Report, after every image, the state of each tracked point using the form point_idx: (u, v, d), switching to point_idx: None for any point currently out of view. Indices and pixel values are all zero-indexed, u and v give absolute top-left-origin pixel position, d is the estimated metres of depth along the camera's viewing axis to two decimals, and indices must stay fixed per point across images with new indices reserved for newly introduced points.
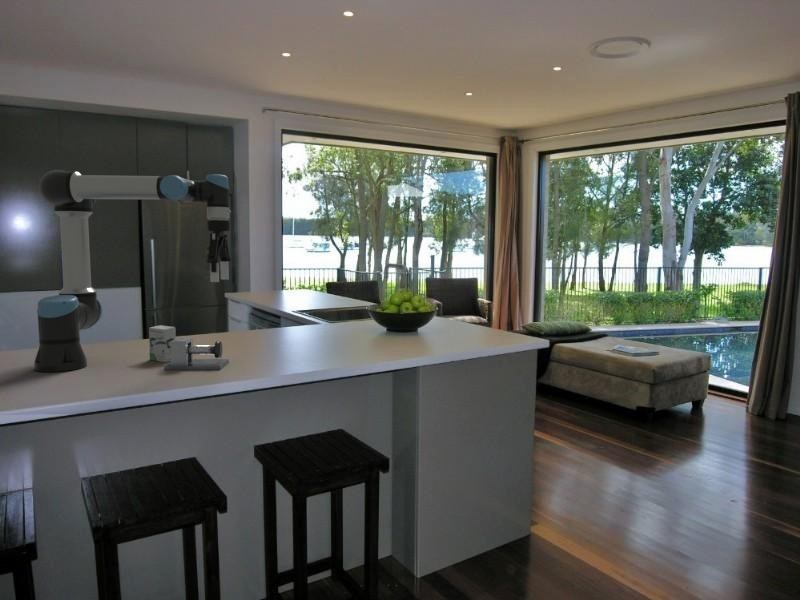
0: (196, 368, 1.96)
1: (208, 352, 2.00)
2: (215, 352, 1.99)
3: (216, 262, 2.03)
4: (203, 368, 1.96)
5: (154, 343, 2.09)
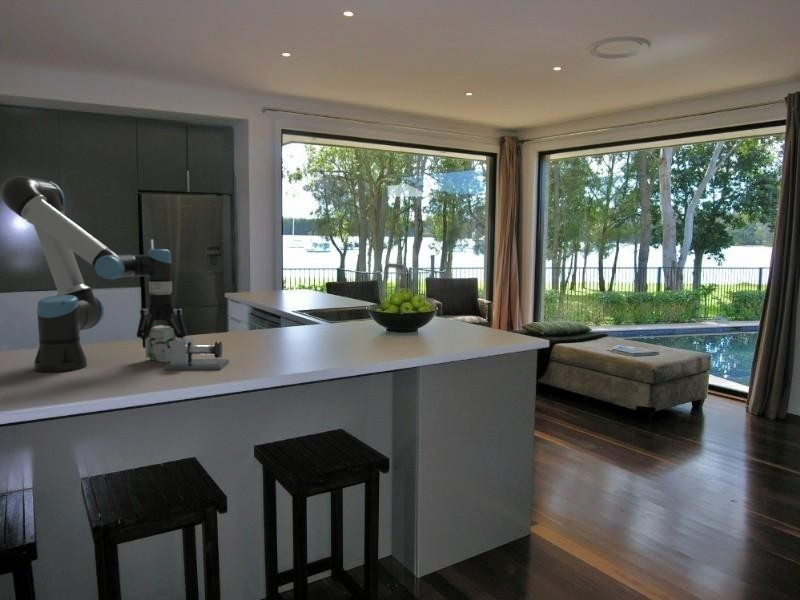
0: (196, 368, 1.96)
1: (208, 352, 2.00)
2: (215, 352, 1.99)
3: (143, 338, 2.10)
4: (203, 368, 1.96)
5: (154, 343, 2.09)
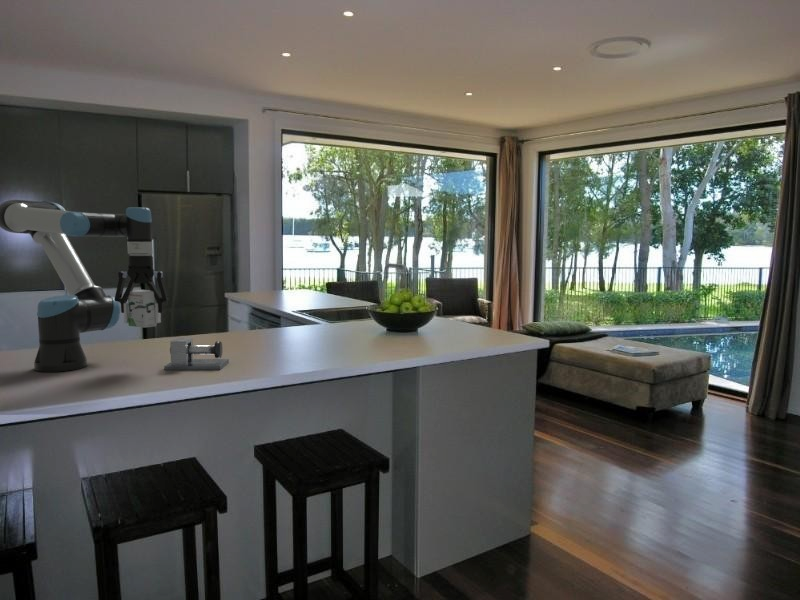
0: (196, 368, 1.96)
1: (208, 352, 2.00)
2: (215, 352, 1.99)
3: (121, 303, 1.97)
4: (203, 368, 1.96)
5: (133, 307, 1.97)
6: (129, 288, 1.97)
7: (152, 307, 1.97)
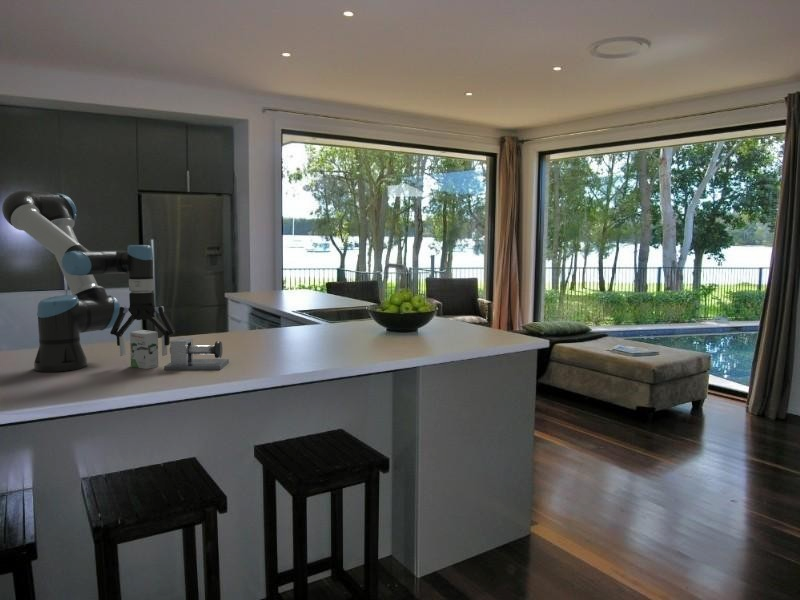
0: (196, 368, 1.96)
1: (208, 352, 2.00)
2: (215, 352, 1.99)
3: (117, 336, 1.98)
4: (203, 368, 1.96)
5: (135, 348, 1.98)
6: (127, 323, 1.98)
7: (154, 348, 1.98)
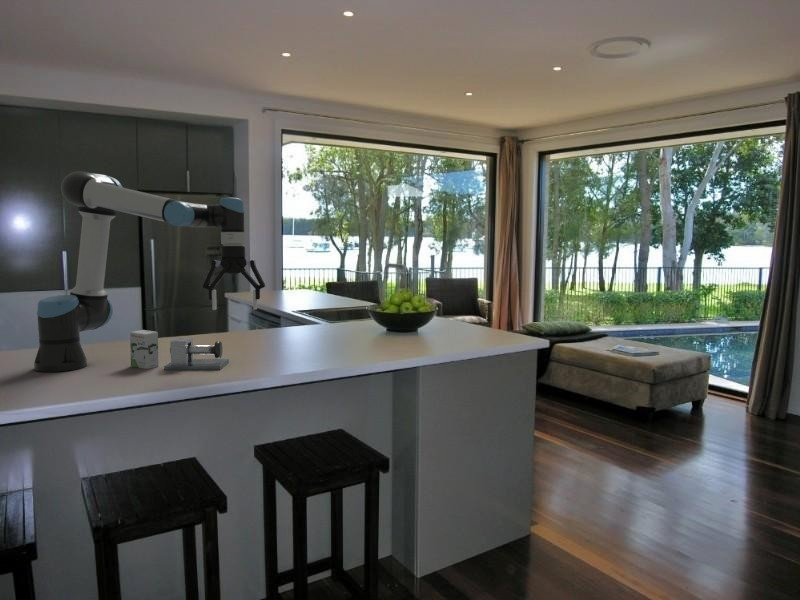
0: (196, 368, 1.96)
1: (208, 352, 2.00)
2: (215, 352, 1.99)
3: (209, 289, 1.98)
4: (203, 368, 1.96)
5: (135, 348, 1.98)
6: (220, 277, 1.98)
7: (154, 348, 1.98)
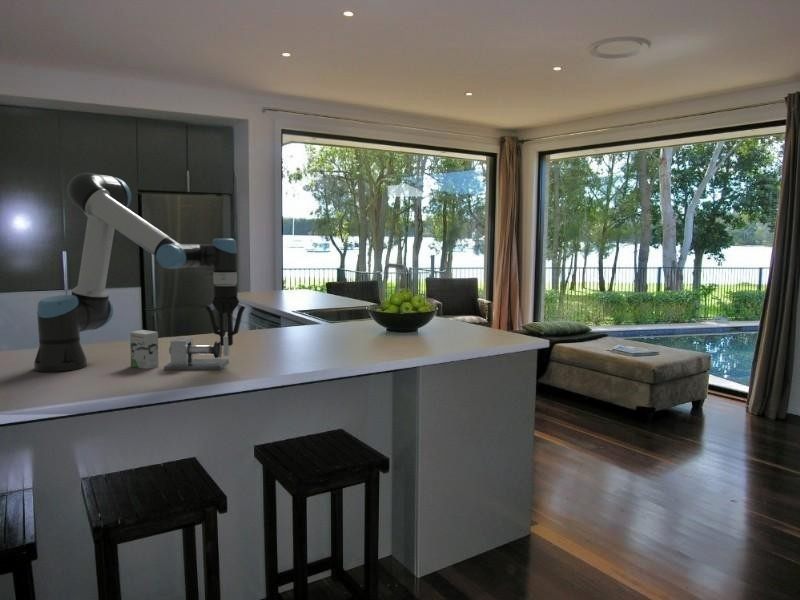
0: (196, 368, 1.96)
1: (207, 352, 2.00)
2: (214, 352, 1.99)
3: (222, 336, 2.00)
4: (203, 368, 1.96)
5: (135, 348, 1.98)
6: (222, 319, 1.99)
7: (154, 348, 1.98)
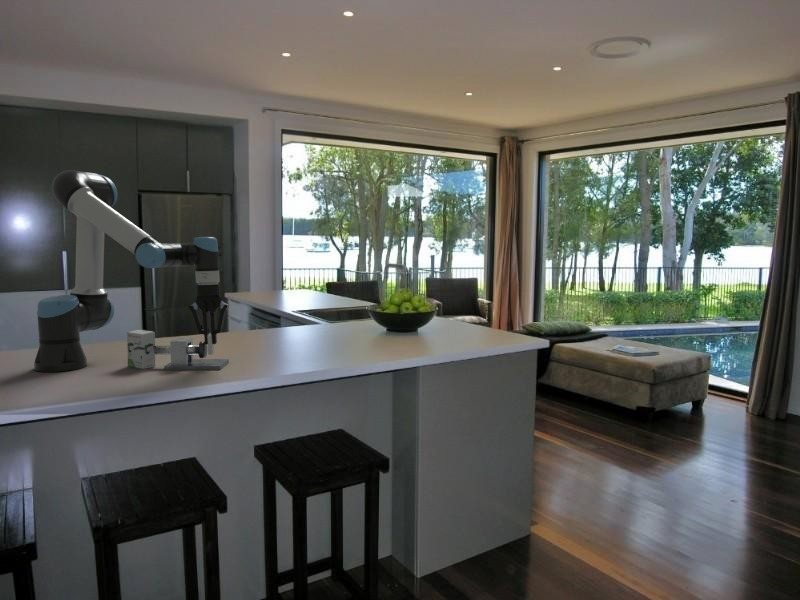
0: (196, 368, 1.96)
1: (192, 352, 2.00)
2: (199, 352, 1.98)
3: (206, 334, 2.00)
4: (203, 368, 1.96)
5: (132, 348, 1.98)
6: (205, 318, 1.99)
7: (151, 348, 1.98)
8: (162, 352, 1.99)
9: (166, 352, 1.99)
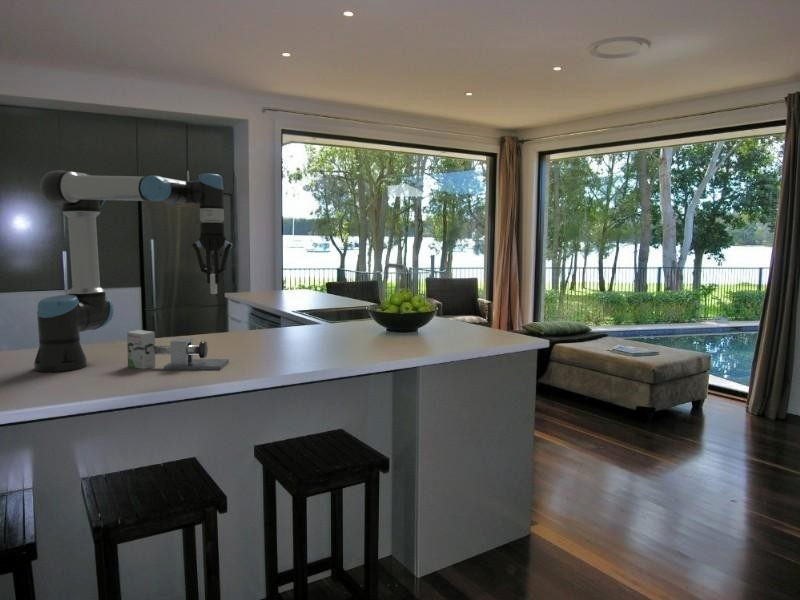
0: (196, 368, 1.96)
1: (193, 352, 2.00)
2: (200, 352, 1.98)
3: (209, 273, 1.98)
4: (203, 368, 1.96)
5: (132, 348, 1.98)
6: (208, 257, 1.97)
7: (151, 348, 1.98)
8: (162, 352, 1.99)
9: (167, 352, 1.99)
